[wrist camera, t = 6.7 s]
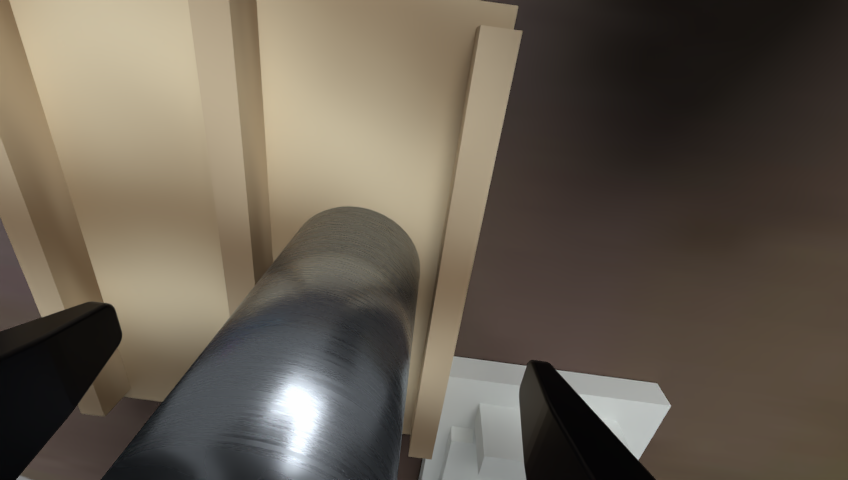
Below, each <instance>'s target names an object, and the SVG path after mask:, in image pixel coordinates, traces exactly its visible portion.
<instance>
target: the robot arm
mask: <svg viewBox="0 0 848 480" xmlns="http://www.w3.org/2000/svg"><path fill="white" fill-rule="evenodd" d="M121 340H122V330H121V326H120V323H119V320H118V316H117V313H116V310H115V308H114V306H113V305H111V304H109V303H103V302H95V301H90V302H86V303H83V304H80V305H77V306H74V307H71V308H68V309H65V310H62V311H59V312H56V313H53V314H51V315H48V316H45V317H42V318H39V319H36V320H33V321H30V322H27V323H24V324H21V325H18V326H15V327H13V328H10V329H7V330H4V331H1V332H0V480H16V479H17V478H18V477H19V475H20V474H21V473H22V472H23V471H24V469H25V468H26V467H27V466H28V465H29V463H30V462H31V461H32V460H33V459H34V457H35V456H36V455H37V454H38V453H39V451H40V450H41V449H42V448H43V447H44V445H45V444H46V443H47V442H48V441H49V439H50V438H51V437H52V436H53V435H54V433H55V432H56V431H57V430H58V429H59V427H60V426H61V425H62V424H63V423H64V421H65V420H66V419H67V418H68V416H69V415H70V414H71V413H72V411H73V410H74V409H75V407H76V406H77V405H78V403H79V402H80V401H81V399H82V398H83V396H84V395H85V394H86V392H87V391H88V389H89V388H90V386H91V385H92V383H93V382H94V381H95V379H96V378H97V376H98V375H99V373H100V372H101V371H102V369H103V368H104V366H105V365H106V363H107V362H108V360H109V359H110V358H111V356H112V355H113V353H114V352H115V350H116V349H117V348H118V346H119V344H120V342H121ZM519 405H520V418H521V431H522V445H523V457H524V468H525V474H526V480H656V479H655V478H654V477H653V476H652V475H651V474H650V473H649V472H648V470H647V469H646V468H645V467H644V466H643V465H642V464H641V463H640V462H639V461H638V459H637V458H636V457H635V456H634V455H633V454H632V453H631V452H630V451H629V450H628V448H627V447H626V446H625V445H624V444H623V443H622V442H621V441H620V440H619V439H618V437H617V436H616V435H615V434H614V433H613V432H612V431H611V430H610V429H609V428H608V426H607V425H606V424H605V423H604V422H603V421H602V420H601V419H600V418H599V417H598V416H597V414H596V413H595V412H594V411H593V410H592V409H591V408H590V407H589V406H588V405H587V403H586V402H585V401H584V400H583V399H582V398H581V397H580V396H579V395H578V394H577V392H576V391H575V390H574V389H573V388H572V387H571V386H570V385H569V384H568V383H567V381H566V380H565V379H564V378H563V377H562V376H561V375H560V374H559V373H558V372H557V370H556V369H555V368H554V367H553V366H552V365H551V364H550V363H548V362H544V361H537V360H531V361H529V362H528V364H527V367H526V370H525V373H524V376H523V379H522V382H521V385H520V389H519Z"/></svg>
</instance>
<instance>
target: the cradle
mask: <svg viewBox="0 0 848 480" xmlns="http://www.w3.org/2000/svg"><path fill="white" fill-rule="evenodd" d="M526 367H527V366H523V365H516V364H508V363H501V362H493V361H486V360H478V359H471V358H463V357H456V356H453V361H452V365H451V370H450V375H449V380H448V384H447V389H446V394H445V398H444V403H443V408H442V413H441V417H440V422H439V427H438V431H437V436H436V441H435V445H434V450H433V455H432V460H431V459H422V464H421V469H420V474H419V479H418V480H526V474H525V468H524V457H523V445H522V431H521V418H520V405H519V389H520V385H521V382H522V379H523V376H524V373H525V370H526ZM557 372H558V373H559V374H560V375H561V376H562V377H563V378H564V379H565V380H566V381H567V383H568V384H569V385H570V386H571V387H572V388H573V389H574V390H575V391H576V392H577V394H578V395H579V396H580V397H581V398H582V399H583V400H584V401H585V402H586V403H587V405H588V406H589V407H590V408H591V409H592V410H593V411H594V412H595V413H596V414H597V416H598V417H599V418H600V419H601V420H602V421H603V422H604V423H605V424H606V425H607V426H608V428H609V429H610V430H611V431H612V432H613V433H614V434H615V435H616V436H617V437H618V439H619V440H620V441H621V442H622V443H623V444H624V445H625V446H626V447H627V448H628V450H629V451H630V452H631V453H632V454H633V455H634V456H635V457H636V458H637V459H638V460H639V458H640V456H641V455H642V453H643V451H644V450H645V448H646V447H647V445H648V443H649V442H650V440H651V438H652V437H653V435H654V433H655V432H656V430H657V428H658V427H659V425H660V423H661V422H662V420H663V418H664V417H665V415H666V413H667V412H668V410H669V408H670V407H671V405H670V403H669V402H668V400H667V399H666V397H665V395H664V394H663V392H662V391H661V389H660V387H659V386H658V384H657V383H651V382H643V381H636V380H628V379H621V378H613V377H606V376H598V375H591V374H583V373H576V372H568V371H561V370H557Z"/></svg>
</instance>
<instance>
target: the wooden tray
mask: <svg viewBox="0 0 848 480" xmlns="http://www.w3.org/2000/svg"><path fill="white" fill-rule="evenodd" d="M517 11H518V6H515V5H508V4H501V3H494V2H487V1H480V0H0V217H1V220H2V222H3V225H4V227H5V230H6V232H7V234H8V237H9V239H10V242H11V244H12V246H13V249H14V251H15V254H16V256H17V259H18V261H19V263H20V266H21V268H22V271H23V273H24V276H25V278H26V280H27V283H28V285H29V288H30V290H31V293H32V295H33V297H34V300H35V302H36V305H37V307H38V310H39V312H40V314H41V317H45V316H48V315H51V314H53V313H56V312H59V311H62V310H65V309H68V308H71V307H74V306H77V305H80V304H83V303H86V302H90V301H95V302H103V303H109V304H111V305H113V306H114V308H115V310H116V313H117V316H118V320H119V323H120V326H121V330H122V340H121V342H120V344H119V346H118V348H117V349H116V350H115V352H114V353H113V355H112V356H111V358H110V359H109V360H108V362H107V363H106V365H105V366H104V368H103V369H102V371H101V372H100V373H99V375H98V376H97V378H96V379H95V381H94V382H93V383H92V385H91V386H90V388H89V389H88V391H87V392H86V394H85V395H84V396H83V398H82V399H81V401H80V402H79V403H78V407H79V409H80V411H81V414H88V415H96V416H103V417H105V416H106V415H107V414H108V413H109V412H110V411H111V410H112V408H113V407H114V406H115V405H116V404H117V403H118V402H119V401H120V400H121V399H122V398H123V397H129V398H137V399H144V400H152V401H159V402H163V401H164V399H165V398H166V397H167V396H168V394H169V393H170V392H171V391H172V389H173V388H174V387H175V386H176V384H177V383H178V382H179V381H180V379H181V378H182V377H183V376H184V374H185V373H186V372H187V370H188V369H189V368H190V367H191V365H192V364H193V363H194V362H195V360H196V359H197V358H198V357H199V355H200V354H201V353H202V352H203V350H204V349H205V348H206V347H207V345H208V344H209V343H210V342H211V340H212V339H213V338H214V336H215V335H216V334H217V333H218V331H219V330H220V329H221V328H222V326H223V325H224V324H225V323H226V321H227V320H228V319H229V318H230V316H231V315H232V314H233V313H234V311H235V310H236V309H237V307H238V306H239V305H240V304H241V302H242V301H243V300H244V299H245V297H246V296H247V295H248V294H249V292H250V291H251V290H252V289H253V287H254V286H255V285H256V284H257V282H258V281H259V280H260V278H261V277H262V276H263V275H264V273H265V272H266V271H267V270H268V268H269V267H270V266H271V265H272V263H273V262H274V261H275V260H276V258H277V257H278V256H279V255H280V253H281V252H282V251H283V249H284V248H285V247H286V246H287V244H288V243H289V242H290V241H291V239H292V238H293V237H294V236H295V234H296V233H297V232H298V231H299V229H300V228H301V227H302V226H303V224H304V223H305V222H307V221H308V220H309V219H310V218H312V217H313V216H314V215H316V214H318V213H320V212H322V211H325V210H328V209H331V208H336V207H345V206H353V207H361V208H366V209H370V210H373V211H376V212H378V213H381V214H383V215H385V216H387V217H388V218H390V219H391V220H393V221H394V222H396V223H397V224H398V225H399V226H400V227H401V228H402V229H403V230H404V231H405V232H406V233H407V234H408V236H409V237H410V238H411V240H412V242H413V243H414V245H415V247H416V250H417V252H418V256H419V260H420V279H419V288H418V297H417V306H416V315H415V324H414V333H413V342H412V351H411V359H410V368H409V377H408V386H407V395H406V404H405V413H404V422H403V430H402V434H410V444H409V455H408V457H416V458H423V459H431V460H432V455H433V450H434V445H435V441H436V436H437V431H438V427H439V422H440V417H441V413H442V408H443V403H444V398H445V394H446V389H447V384H448V380H449V375H450V370H451V365H452V361H453V356H454V351H455V347H456V342H457V337H458V333H459V328H460V323H461V318H462V314H463V309H464V304H465V300H466V295H467V290H468V286H469V281H470V276H471V271H472V267H473V262H474V257H475V253H476V248H477V243H478V239H479V234H480V229H481V224H482V220H483V215H484V210H485V206H486V201H487V196H488V192H489V187H490V182H491V177H492V173H493V168H494V163H495V159H496V154H497V149H498V145H499V140H500V135H501V130H502V126H503V121H504V116H505V112H506V107H507V102H508V98H509V93H510V88H511V83H512V79H513V74H514V69H515V65H516V60H517V55H518V51H519V46H520V41H521V36H522V32H523V31H520V30H514V25H515V21H516V16H517Z"/></svg>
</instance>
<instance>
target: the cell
mask: <svg viewBox="0 0 848 480" xmlns="http://www.w3.org/2000/svg"><path fill="white" fill-rule="evenodd" d="M419 279H420V260H419V256H418V252H417V250H416V247H415V245H414V243H413V242H412V240H411V238H410V237H409V236H408V234H407V233H406V232H405V231H404V230H403V229H402V228H401V227H400V226H399V225H398V224H397V223H396V222H394V221H393V220H391V219H390V218H388V217H387V216H385V215H383V214H381V213H378V212H376V211H373V210H370V209H366V208H361V207H353V206H345V207H336V208H331V209H328V210H325V211H322V212H320V213H318V214H316V215H314V216H313V217H312V218H310V219H309V220H308V221H307V222H305V223H304V224H303V226H302V227H301V228H300V229H299V231H298V232H297V233H296V234H295V236H294V237H293V238H292V239H291V241H290V242H289V243H288V244H287V246H286V247H285V248H284V249H283V251H282V252H281V253H280V255H279V256H278V257H277V258H276V260H275V261H274V262H273V263H272V265H271V266H270V267H269V268H268V270H267V271H266V272H265V273H264V275H263V276H262V277H261V278H260V280H259V281H258V282H257V284H256V285H255V286H254V287H253V289H252V290H251V291H250V292H249V294H248V295H247V296H246V297H245V299H244V300H243V301H242V302H241V304H240V305H239V306H238V307H237V309H236V310H235V311H234V313H233V314H232V315H231V316H230V318H229V319H228V320H227V321H226V323H225V324H224V325H223V326H222V328H221V329H220V330H219V331H218V333H217V334H216V335H215V336H214V338H213V339H212V340H211V342H210V343H209V344H208V345H207V347H206V348H205V349H204V350H203V352H202V353H201V354H200V355H199V357H198V358H197V359H196V360H195V362H194V363H193V364H192V365H191V367H190V368H189V369H188V370H187V372H186V373H185V374H184V376H183V377H182V378H181V379H180V381H179V382H178V383H177V384H176V386H175V387H174V388H173V389H172V391H171V392H170V393H169V394H168V396H167V397H166V398H165V399H164V401H163V402H162V403H161V405H160V406H159V407H158V408H157V410H156V411H155V412H154V413H153V415H152V416H151V417H150V418H149V420H148V421H147V422H146V423H145V425H144V426H143V427H142V428H141V430H140V431H139V432H138V434H137V435H136V436H135V437H134V439H133V440H132V441H131V442H130V444H129V445H128V446H127V447H126V449H125V450H124V451H123V452H122V454H121V455H120V456H119V457H118V459H117V460H116V461H115V463H114V464H113V465H112V466H111V468H110V469H109V470H108V471H107V473H106V474H105V475H104V476H103V478H102V479H101V480H397V475H398V466H399V457H400V448H401V439H402V430H403V422H404V413H405V404H406V395H407V386H408V377H409V368H410V359H411V351H412V342H413V333H414V324H415V315H416V306H417V297H418V288H419Z"/></svg>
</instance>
